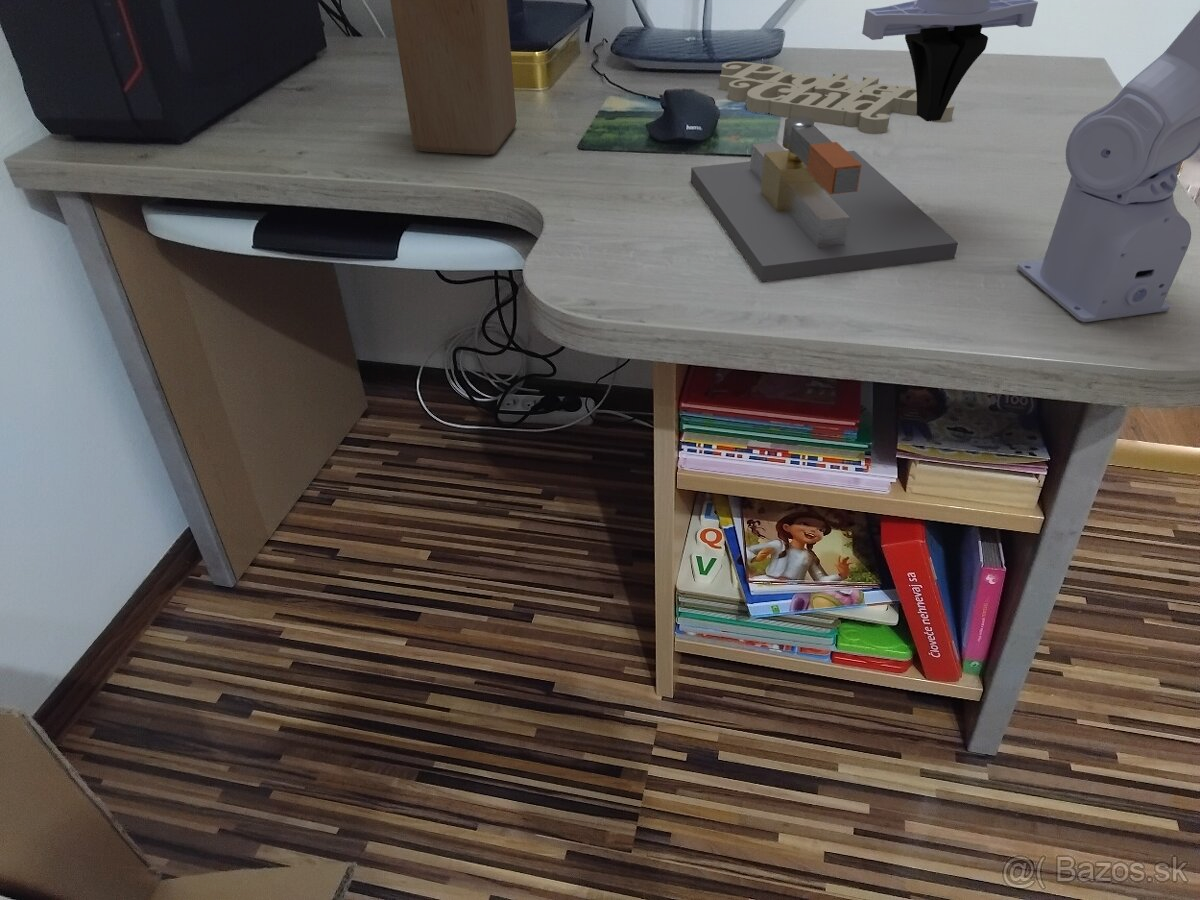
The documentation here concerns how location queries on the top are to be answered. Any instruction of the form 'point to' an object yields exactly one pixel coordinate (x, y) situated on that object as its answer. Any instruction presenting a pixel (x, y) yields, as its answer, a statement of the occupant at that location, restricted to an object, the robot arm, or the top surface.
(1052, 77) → the top surface
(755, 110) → the decorative sign
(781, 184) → the ball valve
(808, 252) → the mounting board
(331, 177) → the top surface
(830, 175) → the valve lever
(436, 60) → the block
